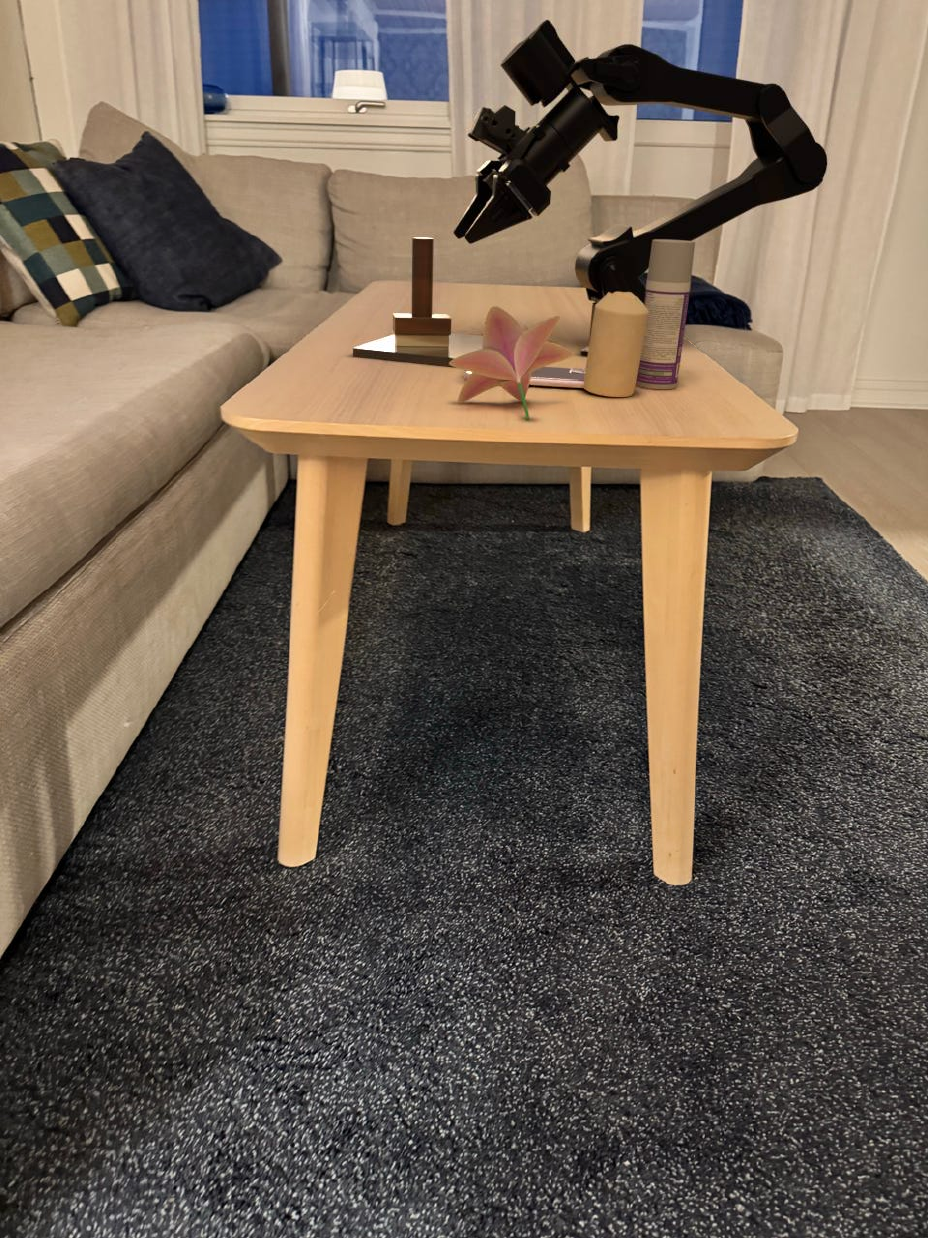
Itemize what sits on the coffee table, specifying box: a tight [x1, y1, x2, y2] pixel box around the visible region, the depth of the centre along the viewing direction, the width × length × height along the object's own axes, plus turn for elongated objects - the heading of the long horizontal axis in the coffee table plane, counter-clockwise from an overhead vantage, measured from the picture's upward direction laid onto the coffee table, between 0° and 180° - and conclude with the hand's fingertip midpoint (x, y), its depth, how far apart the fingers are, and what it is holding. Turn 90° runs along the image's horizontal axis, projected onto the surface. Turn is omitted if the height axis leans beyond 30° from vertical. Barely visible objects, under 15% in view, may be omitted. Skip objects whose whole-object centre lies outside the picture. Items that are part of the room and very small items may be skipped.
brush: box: [392, 236, 452, 347], centre depth 112 cm, size 4×7×12 cm, turn 99°
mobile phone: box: [463, 366, 586, 389], centre depth 102 cm, size 8×1×15 cm
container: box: [635, 239, 696, 390], centre depth 99 cm, size 5×5×15 cm
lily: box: [449, 306, 574, 420], centre depth 86 cm, size 12×12×10 cm
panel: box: [352, 332, 483, 368], centre depth 117 cm, size 18×15×1 cm
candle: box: [583, 292, 649, 398], centre depth 95 cm, size 6×6×10 cm
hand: (461, 238), depth 110 cm, fingers open, 9 cm apart
